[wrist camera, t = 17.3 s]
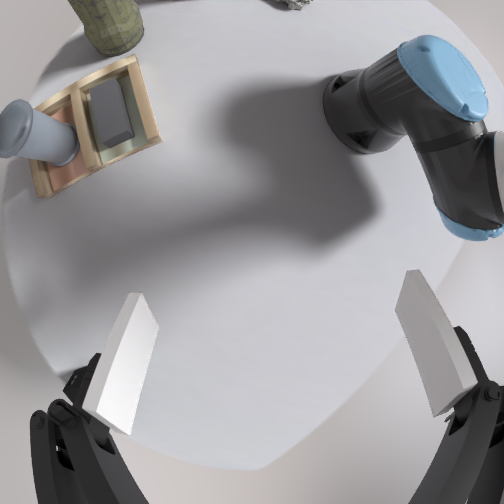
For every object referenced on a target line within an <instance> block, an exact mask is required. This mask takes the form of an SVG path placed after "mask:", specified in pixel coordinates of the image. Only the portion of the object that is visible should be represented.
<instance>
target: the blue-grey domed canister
mask: <svg viewBox="0 0 504 504" xmlns="http://www.w3.org/2000/svg"><path fill="white" fill-rule="evenodd" d="M79 149H80V142H79V138H78V133H77V129H76V126H75V125H73V124H70V123H63V122H61V121H58V120H56V119H54V118H52V117H50V116H48V115H46V114H44V113H42V112H40V111H37V110H35V109H33V108H32V107H31V105H30V104H29V103H28V102H27V101H24V100H22V99H18V100H15V101H13V102H11V103H10V104H9V105H8V106H6V108H5V109H4V110H3V111H2V112H1V114H0V157H1V158H10V157H12V156H17V157H23V158H29V159H35V160H41V161H46V162H49V163H50V164H52V165H54V166H65V165H67V164H69V163H70V162H71V161H72V160H73V159H74V158H75V157H76V155H77V153H78V151H79Z"/></svg>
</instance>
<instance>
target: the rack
mask: <svg viewBox="0 0 504 504" xmlns="http://www.w3.org/2000/svg"><path fill="white" fill-rule="evenodd" d="M111 78H115V79H116V80H117V82H118V83H119V85H120V86H121V87H122V91H123V95H124V99H125V103H126V107H127V110H128V114H129V118H130V121H131V125H132V128H133V132H134V135H135V137H134V138H131V139H129V140H127V141H125V142H123V143H121V144H118V145H116V146H114V147H112V148H109V147H107V146H105V145H104V144H102V143H101V141H100V137H99V133H98V129H97V125H96V121H95V117H94V112H93V107H92V103H91V98H90V92H89V89H91V88H93V87H95V86H97V85H99V84H101V83H103V82H105V81H107V80H109V79H111ZM35 110H37V111H40V112H42V113H44V114H46V115H48V116H50V117H52V118H54V119H56V120H58V121H61V122H63V123H70V124H73V125H75V126H76V129H77V133H78V138H79V142H80V149H79V151H78V153H77V155H76V157H75V158H74V159H73V160H72V161H71V162H70V163H69V164H67V165H65V166H54V165H52V164H50V163H49V162H46V161H41V160H35V159H29V162H30V168H31V173H32V177H33V182H34V186H35V190H36V194H37V198H50V197H52V196H54V195H55V194H57V193H59V192H60V191H62V190H64V189H65V188H67V187H69V186H70V185H72V184H74V183H76V182H78V181H79V180H81V179H83V178H85V177H87V176H89V175H91V174H92V173H94V172H96V171H98V170H100V169H102V168H104V167H106V166H108V165H110V164H112V163H114V162H117V161H119V160H121V159H123V158H125V157H127V156H129V155H132V154H134V153H136V152H139V151H141V150H143V149H145V148H148V147H150V146H153V145H155V144H158V143H160V142H163V141H162V138H161V135H160V131H159V128H158V125H157V122H156V119H155V115H154V112H153V109H152V106H151V102H150V99H149V95H148V92H147V89H146V85H145V82H144V78H143V75H142V71H141V67H140V64H139V62H138V60H137V58H136V55H135V54H133V55H131V56H128V57H126V58H123V59H121V60H119V61H117V62H114V63H112V64H110V65H108V66H106V67H104V68H102V69H100V70H98V71H96V72H94V73H92V74H90V75H88V76H86V77H84V78H82V79H80V80H79V81H77V82H75V83H73V84H72V85H70V86H68V87H67V88H65V89H63V90H62V91H60V92H58V93H57V94H55V95H54V96H52V97H51V98H49V99H48V100H46V101H45V102H43V103H42V104H40V105H39V106H37V107H36V108H35Z"/></svg>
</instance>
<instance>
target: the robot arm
mask: <svg viewBox="0 0 504 504" xmlns="http://www.w3.org/2000/svg"><path fill="white" fill-rule="evenodd" d="M485 93H486V91H485V88H484V86H483V83H482V81H481V79H480V77H479V75H478V74H477V72H476V71H475V69H474V68H473V66H472V65H471V63H470V62H469V61H468V60H467V59H466V57H465V56H464V55H463V54H462V53H461V52H460V51H459V50H458V49H457V48H455V47H454V46H452V45H451V44H450V43H449V42H447V41H445V40H443V39H441V38H439V37H436V36H433V35H422V36H419V37H417V38H415V39H412V40H410V41H408V42H404V43H402V44H400V46H399V47H398V48H396V49H395V50H393V51H392V52H390V53H389V54H387V55H386V56H384V57H383V58H381V59H380V60H378V61H377V62H375V63H374V64H372V65H371V66H369V67H368V68H365V69H358V70H352V71H347V72H344V73H342V74H340V75H338V76H337V77H336V78H335V79H333V80H332V81H331V82H330V83H329V84H328V86H327V88H326V90H325V93H324V99H323V105H324V112H325V115H326V118H327V121H328V123H329V125H330V127H331V129H332V130H333V132H334V133H335V134H336V136H337V137H338V138H339V139H340V140H341V141H342V142H343V143H344V144H346V145H347V146H348V147H350V148H352V149H353V150H356V151H358V152H361V153H366V154H374V153H379V152H383V151H386V150H388V149H390V148H391V147H392V146H394V145H395V144H396V143H397V142H398V141H399V140H400V139H401V138H402V137H404V136H405V135H407V134H408V136H409V138H410V140H411V142H412V144H413V146H414V149H415V151H416V153H417V156H418V158H419V160H420V163H421V165H422V167H423V170H424V172H425V175H426V177H427V180H428V182H429V185H430V188H431V191H432V193H433V200H434V203H435V206H436V207H437V210H438V211H439V213H440V216H441V219H442V222H443V223H444V225H445V227H446V228H447V229H448V230H449V231H450V232H451V233H452V234H454V235H456V236H457V237H460V238H462V239H465V240H470V241H485V240H488V237H492V238H496V237H498V236H499V235H501V234H502V233H503V232H504V133H503V132H502V131H495V132H488V131H487V129H486V126H485V123H484V121H483V118H484V117H485V116H486V114H487V112H488V99H487V97H486V96H485ZM395 312H396V314H397V316H398V319H399V321H400V323H401V326H402V328H403V331H404V333H405V335H406V338H407V340H408V343H409V345H410V348H411V351H412V353H413V356H414V359H415V361H416V364H417V367H418V370H419V373H420V376H421V379H422V382H423V384H424V388H425V391H426V394H427V397H428V400H429V404H430V407H431V410H432V414H433V417H435V416H438V415H441V414H444V413H446V412H448V411H449V410H450V409H451V408H452V407H454V410H455V411H454V412H453V413H452V414H451V415H449V416H448V417H447V418H446V420H445V422H447V421H448V420H449V419H450V422H449V424H448V427H447V430H446V432H445V435H444V437H443V439H442V442H441V444H440V446H439V448H438V451H437V453H436V455H435V457H434V459H433V461H432V463H431V465H430V467H429V469H428V471H427V473H426V475H425V476H424V478H423V480H422V482H421V484H420V485H419V487H418V489H417V490H416V492H415V494H414V495H413V497H412V499H411V500H410V502H409V503H408V504H465V503H466V501H467V499H468V501H467V504H504V386H499V385H498V384H497V383H496V382H494V381H490V380H489V379H488V377H487V375H486V373H485V370H484V368H483V366H482V364H481V361H480V359H479V357H478V355H477V353H476V352H475V348H474V346H473V345H472V344H471V343H472V342H471V340H470V339H469V336H468V334H467V333H466V332H465V331H464V330H463V329H462V328H461V327H460V326H457V327H454V328H453V327H452V325H451V323H450V321H449V319H448V317H447V316H446V314H445V312H444V310H443V308H442V306H441V305H440V303H439V301H438V300H437V298H436V296H435V294H434V293H433V291H432V289H431V288H430V286H429V284H428V283H427V281H426V279H425V278H424V276H423V275H422V273H421V271H420V270H411V271H407V272H406V275H405V279H404V282H403V286H402V289H401V292H400V295H399V298H398V301H397V305H396V307H395ZM159 328H160V327H159V325H158V324H157V322H156V320H155V318H154V316H153V314H152V312H151V310H150V308H149V306H148V304H147V302H146V300H145V298H144V296H143V294H142V292H139V293H129V294H128V296H127V298H126V300H125V302H124V304H123V307H122V309H121V311H120V313H119V315H118V317H117V320H116V322H115V324H114V326H113V329H112V331H111V333H110V335H109V338H108V340H107V342H106V345H105V347H104V350H103V352H102V354H101V353H96V354H95V355H94V356H93V358H92V359H91V360H90V362H89V364H88V366H87V369H86V372H85V374H84V376H83V379H82V382H81V384H80V387H79V390H78V392H77V395H76V398H75V401H74V403H73V406H71V405H70V404H68V403H67V402H66V401H65V400H63V399H56V400H54V401H53V402H52V403H51V404H50V406H49V408H48V411H47V413H45V412H44V411H42V410H37V411H35V412H34V413H33V414H32V416H31V419H30V443H31V457H32V467H33V476H34V483H35V489H36V494H37V499H38V504H149V503H148V501H147V500H146V498H145V497H144V495H143V494H142V492H141V490H140V489H139V487H138V485H137V484H136V482H135V480H134V479H133V477H132V475H131V473H130V472H129V470H128V468H127V466H126V464H125V462H124V461H123V458H122V457H121V455H120V453H119V451H118V449H117V447H116V444H115V442H114V440H113V438H112V436H111V435H110V433H109V430H110V429H112V430H113V431H115V432H116V433H120V434H124V435H129V436H130V434H131V430H132V425H133V421H134V417H135V413H136V409H137V405H138V401H139V397H140V393H141V390H142V386H143V382H144V379H145V375H146V372H147V368H148V365H149V361H150V358H151V354H152V351H153V348H154V344H155V341H156V338H157V335H158V332H159ZM56 446H58V451H56ZM468 497H469V498H468Z"/></svg>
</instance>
